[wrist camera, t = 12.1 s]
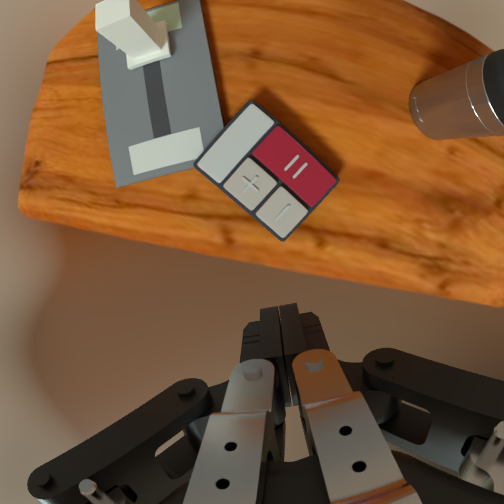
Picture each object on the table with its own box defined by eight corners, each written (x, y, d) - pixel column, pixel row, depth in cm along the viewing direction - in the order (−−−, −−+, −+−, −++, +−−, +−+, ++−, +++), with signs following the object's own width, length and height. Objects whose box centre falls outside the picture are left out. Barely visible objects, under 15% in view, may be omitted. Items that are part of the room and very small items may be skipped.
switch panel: (200, -1, 31) (198, -6, 30) (230, 160, 38) (229, 159, 36) (101, 33, 32) (97, 29, 31) (121, 186, 39) (116, 187, 37)
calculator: (283, 245, 37) (190, 165, 34) (279, 236, 42) (195, 164, 38) (343, 180, 35) (251, 96, 32) (333, 178, 39) (251, 103, 36)
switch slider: (166, 22, 31) (137, -19, 19) (171, 56, 32) (139, 19, 21) (127, 36, 31) (87, 2, 20) (130, 69, 33) (87, 41, 21)
